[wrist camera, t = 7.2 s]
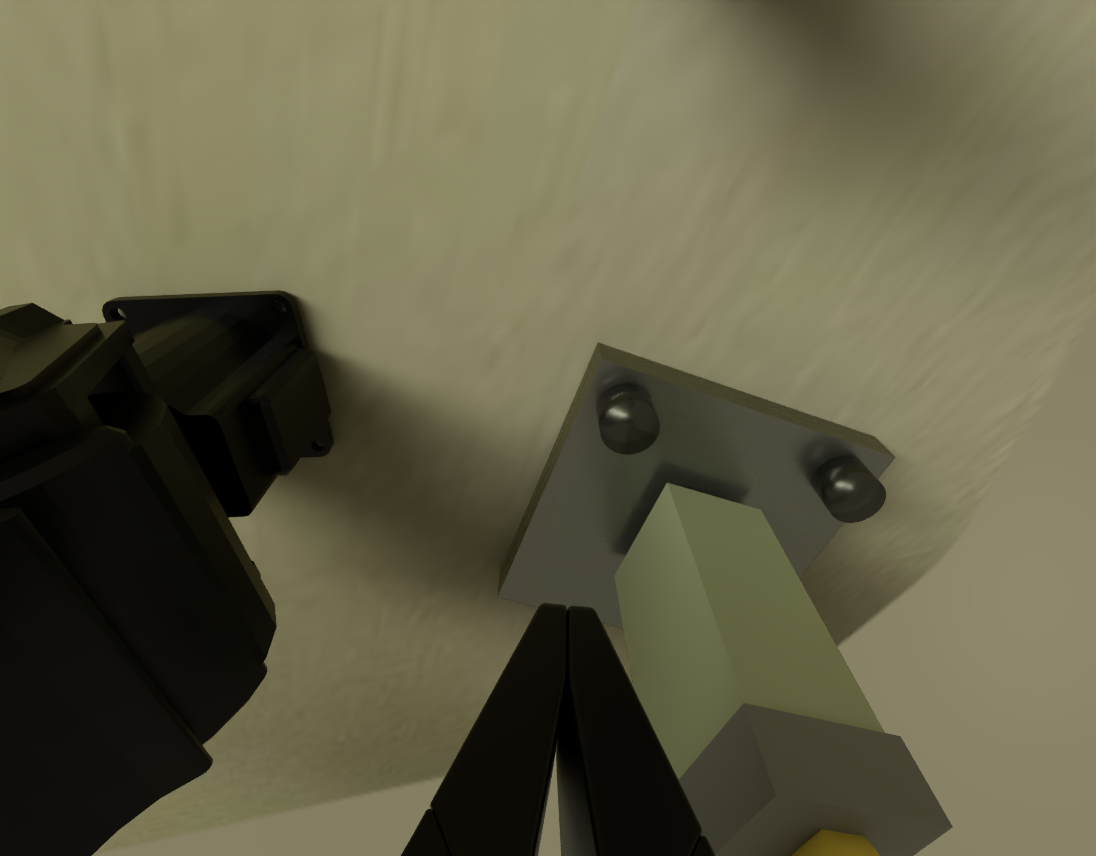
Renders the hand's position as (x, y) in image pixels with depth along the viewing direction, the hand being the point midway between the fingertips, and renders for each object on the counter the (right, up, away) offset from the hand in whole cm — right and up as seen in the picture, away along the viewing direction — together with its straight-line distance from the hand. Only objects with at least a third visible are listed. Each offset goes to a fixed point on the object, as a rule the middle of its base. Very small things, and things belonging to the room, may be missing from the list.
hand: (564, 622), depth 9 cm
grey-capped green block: (+5, -2, +14) cm, 15 cm away
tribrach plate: (+5, -1, +16) cm, 16 cm away
